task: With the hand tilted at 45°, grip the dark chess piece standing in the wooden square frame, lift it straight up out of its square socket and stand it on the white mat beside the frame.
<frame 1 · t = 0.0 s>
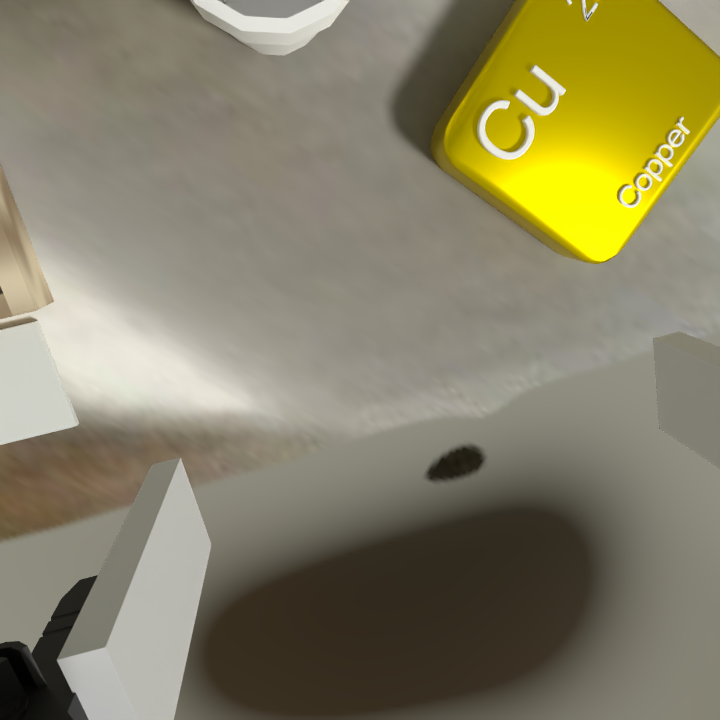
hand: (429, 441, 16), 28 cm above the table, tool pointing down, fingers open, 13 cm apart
white mat: (3, 386, 42), on the table
foam cup: (272, 1, 37), on the table
element tile: (561, 121, 42), on the table
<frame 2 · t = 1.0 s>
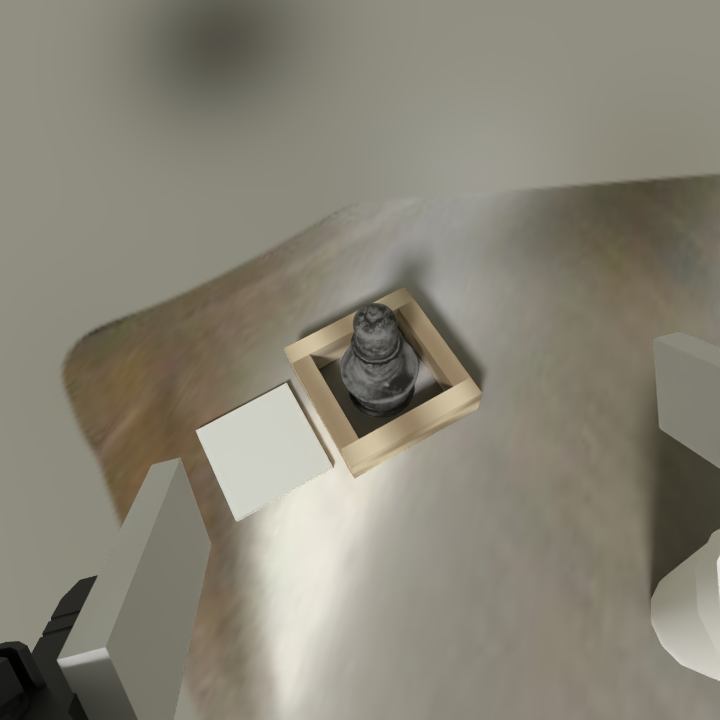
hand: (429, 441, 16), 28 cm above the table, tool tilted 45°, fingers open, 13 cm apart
white mat: (263, 450, 46), on the table
foam cup: (699, 620, 38), on the table
dark chess piece: (381, 387, 47), resting in wooden square frame
wooden square frame: (381, 386, 47), on the table
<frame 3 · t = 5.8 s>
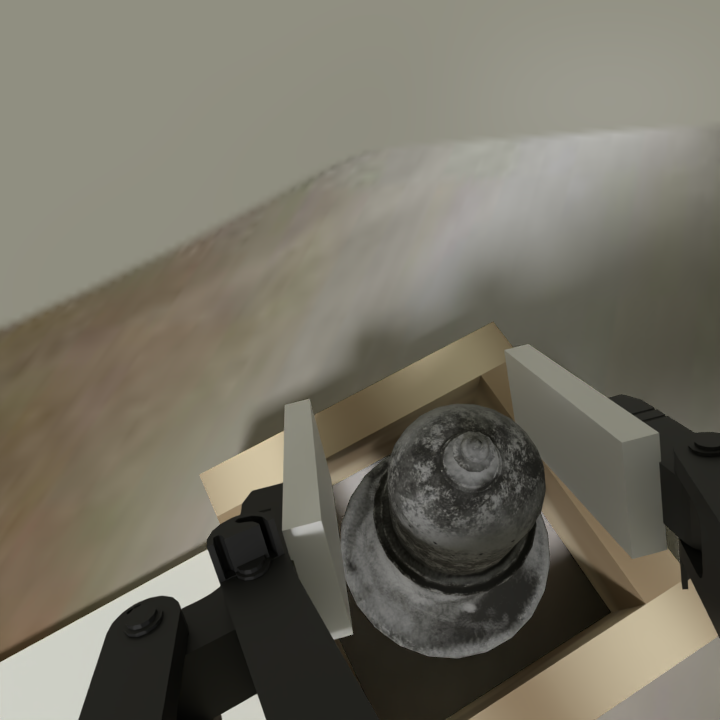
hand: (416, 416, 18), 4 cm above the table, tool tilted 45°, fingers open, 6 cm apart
dark chess piece: (436, 561, 20), resting in wooden square frame
wooden square frame: (436, 560, 20), on the table
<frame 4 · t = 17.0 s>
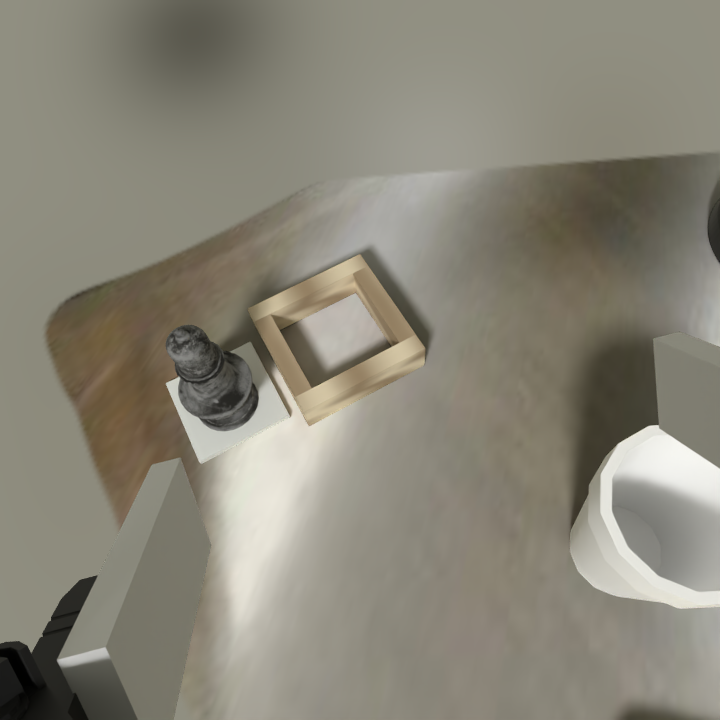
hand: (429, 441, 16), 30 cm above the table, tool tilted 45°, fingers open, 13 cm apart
white mat: (227, 401, 50), on the table
foam cup: (613, 549, 42), on the table
dark chess piece: (227, 402, 49), resting on white mat
wooden square frame: (337, 345, 51), on the table
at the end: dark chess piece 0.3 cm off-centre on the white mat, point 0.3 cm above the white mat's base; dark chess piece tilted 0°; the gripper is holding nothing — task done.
